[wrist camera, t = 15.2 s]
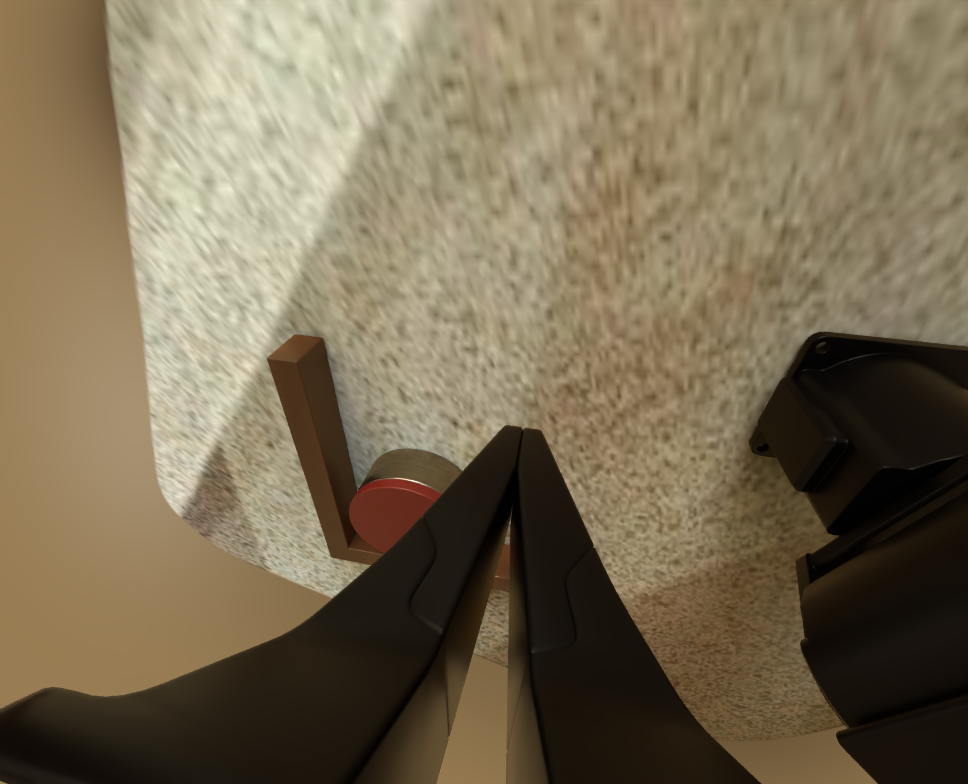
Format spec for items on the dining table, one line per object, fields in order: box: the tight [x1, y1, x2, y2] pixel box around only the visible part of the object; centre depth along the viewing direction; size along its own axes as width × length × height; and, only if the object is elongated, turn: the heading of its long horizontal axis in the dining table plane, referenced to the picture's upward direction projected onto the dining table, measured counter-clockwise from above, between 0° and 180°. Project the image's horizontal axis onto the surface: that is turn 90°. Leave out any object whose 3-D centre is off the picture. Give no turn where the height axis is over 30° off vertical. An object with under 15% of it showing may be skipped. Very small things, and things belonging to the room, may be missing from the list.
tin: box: [349, 449, 462, 553], centre depth 26 cm, size 7×7×3 cm
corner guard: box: [267, 335, 510, 592], centre depth 24 cm, size 16×17×2 cm
